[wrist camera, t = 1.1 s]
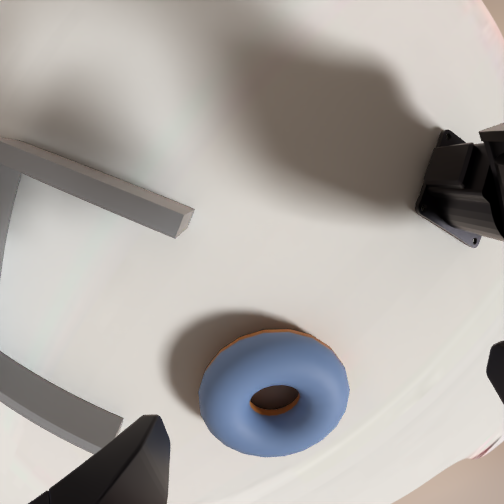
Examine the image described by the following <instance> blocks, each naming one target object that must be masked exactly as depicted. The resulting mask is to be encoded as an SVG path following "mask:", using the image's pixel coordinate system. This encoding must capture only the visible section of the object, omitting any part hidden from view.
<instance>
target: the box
mask: <svg viewBox="0 0 504 504" xmlns="http://www.w3.org/2000/svg"><path fill="white" fill-rule="evenodd" d="M21 173H23V174H25V175H27V176H29V177H32V178H34V179H36V180H39V181H41V182H43V183H45V184H48V185H50V186H52V187H55V188H57V189H59V190H62V191H64V192H66V193H68V194H71V195H73V196H75V197H78V198H80V199H82V200H85V201H87V202H89V203H92V204H94V205H96V206H99V207H101V208H103V209H106V210H108V211H111V212H113V213H115V214H118V215H120V216H122V217H125V218H127V219H129V220H132V221H134V222H137V223H139V224H141V225H144V226H146V227H149V228H151V229H153V230H156V231H158V232H160V233H163V234H165V235H168V236H170V237H173V238H176V237H177V236H179V235H180V234H181V233H182V232H183V231H185V230H186V229H187V228H188V225H189V223H190V220H191V218H192V215H193V213H194V210H195V209H193V208H190V207H188V206H185V205H183V204H180V203H178V202H175V201H173V200H170V199H168V198H165V197H163V196H160V195H158V194H155V193H153V192H151V191H148V190H146V189H143V188H141V187H138V186H136V185H133V184H130V183H128V182H125V181H123V180H120V179H118V178H115V177H113V176H110V175H108V174H105V173H103V172H100V171H98V170H95V169H92V168H90V167H87V166H85V165H82V164H80V163H77V162H74V161H72V160H69V159H67V158H64V157H62V156H59V155H56V154H54V153H51V152H49V151H46V150H43V149H41V148H38V147H35V146H33V145H30V144H27V143H25V142H22V141H19V140H13V139H7V138H0V276H1V268H2V261H3V255H4V248H5V242H6V237H7V232H8V226H9V222H10V217H11V212H12V208H13V204H14V200H15V196H16V192H17V188H18V184H19V181H20V177H21ZM0 402H2V403H3V404H5V405H6V406H8V407H9V408H11V409H12V410H14V411H15V412H17V413H19V414H20V415H22V416H23V417H25V418H27V419H28V420H30V421H31V422H33V423H35V424H37V425H38V426H40V427H42V428H43V429H45V430H47V431H49V432H51V433H52V434H54V435H56V436H58V437H60V438H62V439H64V440H66V441H67V442H69V443H71V444H73V445H75V446H77V447H79V448H82V449H84V450H86V451H88V452H90V453H92V454H95V453H97V452H98V451H99V450H100V449H102V448H103V447H104V446H105V445H107V444H108V443H109V442H110V441H112V440H113V439H114V438H115V437H117V436H118V433H119V431H120V428H121V425H122V422H123V418H121V417H119V416H117V415H114V414H112V413H110V412H108V411H105V410H103V409H101V408H99V407H97V406H95V405H93V404H90V403H88V402H86V401H84V400H82V399H80V398H78V397H76V396H74V395H72V394H70V393H69V392H67V391H65V390H63V389H61V388H59V387H57V386H56V385H54V384H52V383H50V382H48V381H47V380H45V379H43V378H41V377H40V376H38V375H36V374H35V373H33V372H31V371H30V370H28V369H26V368H25V367H23V366H22V365H20V364H18V363H17V362H15V361H14V360H12V359H11V358H9V357H8V356H6V355H5V354H3V353H2V352H0Z"/></svg>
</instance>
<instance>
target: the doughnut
mask: <svg viewBox="0 0 504 504" xmlns="http://www.w3.org/2000/svg"><path fill="white" fill-rule="evenodd" d="M273 385H286V386H291V387H293V388H295V389H297V391H298V392H299V394H298V396H297V398H296V399H295V400H294V401H293V402H292V403H290V404H289V405H287V406H285V407H283V408H279V409H273V410H267V409H262V408H259V407H257V406H255V405H254V404H253V403H252V402H251V401H250V399H251V397H252V396H253V395H254V394H255V393H256V392H258V391H259V390H261V389H263V388H266V387H269V386H273ZM349 391H350V389H349V384H348V380H347V375H346V371H345V367H344V366H343V364H342V363H341V361H340V360H339V358H338V357H337V356H336V354H335V353H334V351H333V350H332V349H331V348H330V347H329V346H328V345H326V344H325V343H323V342H322V341H320V340H318V339H317V338H315V337H314V336H312V335H310V334H306V333H302V332H299V331H295V330H291V329H271V330H261V331H258V332H255V333H252V334H248V335H245V336H242V337H239V338H238V339H236V340H235V341H233V342H232V343H230V344H229V345H227V346H226V347H224V348H223V349H221V350H220V351H219V352H218V354H217V355H216V356H215V357H214V359H213V360H212V361H211V362H210V364H209V365H208V366H207V368H206V370H205V373H204V376H203V379H202V382H201V385H200V389H199V392H198V394H199V404H200V413H201V416H202V418H203V420H204V422H205V424H206V425H207V427H208V429H209V431H210V432H211V433H212V434H213V435H214V436H215V437H216V438H217V439H218V440H220V441H221V442H222V443H223V444H224V445H226V446H227V447H230V448H232V449H234V450H236V451H239V452H241V453H243V454H248V455H254V456H260V457H277V456H286V455H290V454H293V453H297V452H300V451H303V450H305V449H307V448H309V447H311V446H313V445H314V444H316V443H318V442H320V441H321V440H323V439H324V438H325V437H326V436H327V435H328V434H329V433H330V432H331V431H332V430H333V429H334V428H335V427H336V426H337V424H338V423H339V421H340V419H341V418H342V416H343V414H344V413H345V410H346V407H347V402H348V396H349Z"/></svg>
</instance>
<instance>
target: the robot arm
mask: <svg viewBox="0 0 504 504" xmlns="http://www.w3.org/2000/svg"><path fill="white" fill-rule="evenodd" d="M446 134H447V135H448V139H447V138H446ZM479 135H480V138H481V141H483V142H484V143H481V144H473V143H466V142H464V141H463V140H462V139H461V138H459V137H458V136H457V135H455V134H454V133H453V132H452V131H450V130H443V131H442V132H441V133H440V137H439V140H438V143H437V146H436V148H434V150H433V153H432V156H431V159H430V162H429V165H428V168H427V171H426V174H425V177H424V184H423V187H422V190H421V192H420V195H419V197H418V200H417V203H416V206H415V209H416V212H417V213H418V214H419V215H421V216H422V217H424V218H426V219H427V220H429V221H430V222H432V223H434V224H435V225H437V226H439V227H440V228H442V229H443V230H445V231H446V232H448V233H450V234H451V235H453V236H454V237H456V238H457V239H459V240H460V241H462V242H463V243H465V244H466V245H468V246H470V247H473V248H476V247H477V246H478V244H479V242H480V239H481V236H485V237H489V238H493V239H497V240H500V241H504V123H502V124H499V125H496V126H493V127H490V128H487V129H484V130H481V131H479ZM422 205H424V210H423V211H422V209H421V207H422ZM473 239H474V242H473ZM486 373H487V376H488V378H489V380H490V382H491V383H492V385H493V387H494V388H495V390H496V392H497V394H498V395H499V397H500V399H501V401H502V402H503V404H504V341H500V342H498V343H496V344H494V345H493V346H492V347H491V350H490V355H489V359H488V364H487V369H486ZM169 462H170V440H169V436H168V434H167V431H166V429H165V426H164V424H163V421H162V419H161V417H160V416H159V415H143V416H141V417H140V418H139V419H137V420H136V421H135V422H134V423H133V424H131V425H130V426H129V427H128V428H126V429H125V430H124V431H123V432H122V433H120V434H119V435H118V436H117V437H115V438H114V439H113V440H112V441H110V442H109V443H108V444H107V445H105V446H104V447H103V448H102V449H100V450H99V451H98V452H97V453H95V454H94V455H93V456H92V457H90V458H89V459H88V460H86V461H85V462H84V463H83V464H81V465H80V466H79V467H77V468H76V469H75V470H74V471H72V472H71V473H70V474H68V475H67V476H66V477H64V478H63V479H62V480H60V481H59V482H58V483H56V484H55V485H54V486H52V487H51V488H50V489H49V491H45V492H44V493H43V494H41V495H40V496H39V497H37V498H36V499H34V500H33V501H31V502H30V503H28V504H167V498H168V483H169Z"/></svg>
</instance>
